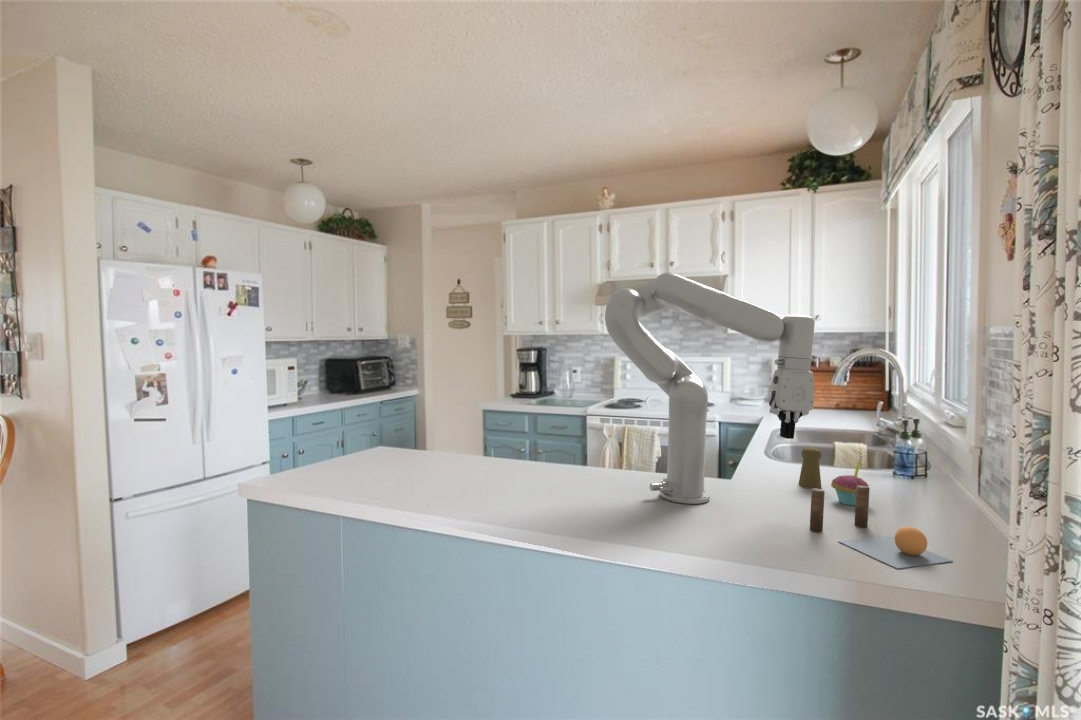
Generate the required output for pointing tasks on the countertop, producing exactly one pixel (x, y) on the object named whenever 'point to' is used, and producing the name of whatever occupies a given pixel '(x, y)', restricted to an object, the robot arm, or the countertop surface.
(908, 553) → the ball
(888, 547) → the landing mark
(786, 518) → the countertop surface
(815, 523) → the post
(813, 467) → the cork
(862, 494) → the post
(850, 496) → the cupcake
